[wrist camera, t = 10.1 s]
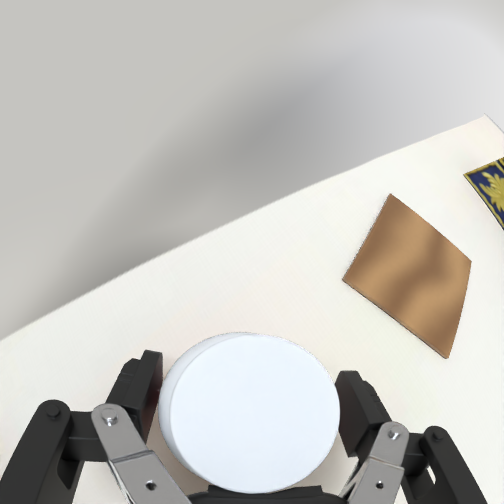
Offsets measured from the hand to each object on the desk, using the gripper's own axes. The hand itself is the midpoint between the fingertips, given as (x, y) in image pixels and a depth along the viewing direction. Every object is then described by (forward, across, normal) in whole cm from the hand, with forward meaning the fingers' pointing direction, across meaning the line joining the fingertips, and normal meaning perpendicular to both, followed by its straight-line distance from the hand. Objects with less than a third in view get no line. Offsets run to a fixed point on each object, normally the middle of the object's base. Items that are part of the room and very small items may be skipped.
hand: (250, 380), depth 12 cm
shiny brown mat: (+11, -15, -3) cm, 19 cm away
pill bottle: (+3, 0, +5) cm, 6 cm away
